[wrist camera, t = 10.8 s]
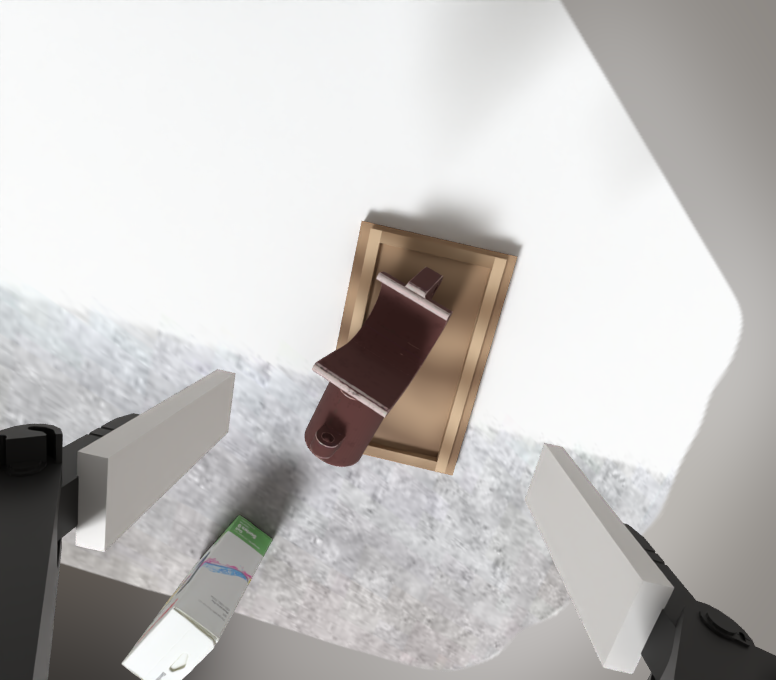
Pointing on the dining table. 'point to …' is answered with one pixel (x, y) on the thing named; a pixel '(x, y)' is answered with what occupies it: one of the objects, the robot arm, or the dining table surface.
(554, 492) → the robot arm
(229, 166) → the dining table surface
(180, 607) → the ink box
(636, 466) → the dining table surface
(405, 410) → the side panel
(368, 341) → the bracket
